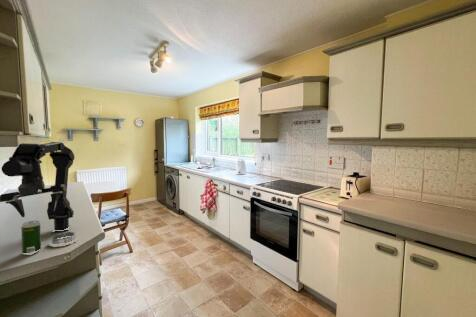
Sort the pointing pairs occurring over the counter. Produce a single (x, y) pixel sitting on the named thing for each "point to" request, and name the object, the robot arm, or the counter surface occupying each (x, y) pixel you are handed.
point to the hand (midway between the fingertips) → (39, 213)
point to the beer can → (31, 236)
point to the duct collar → (64, 240)
